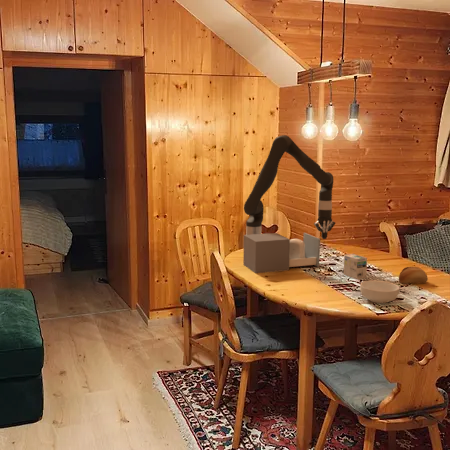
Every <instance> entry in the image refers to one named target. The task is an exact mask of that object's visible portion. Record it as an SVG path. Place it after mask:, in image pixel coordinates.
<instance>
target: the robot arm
mask: <svg viewBox="0 0 450 450" xmlns="http://www.w3.org/2000/svg"><path fill="white" fill-rule="evenodd" d="M285 153H287V154H289V155H290V156H291V157H292V158H294V160H295V161H296V162H297V163H298V165H299V166H301V168H302V169H303V170H304V171H306V172H307V173H308V174H309V175H311V176H312V177H313V179H314V180H315V181H316V182H317V183H319V184H320V190H319V192H318V206H317V209H318V211H317V217H318V218H317V221H316V222H314V223H313V225H314V226H315V228H316V229H317V231H318V232H321V235H320V236H321V238H322V239H323V240H327V238H328V232H331V230H332V229H333V227H334V226H335V224H336V222H335V221H334V220H333V218H332V215H333V203H332V202H333V201H332V200H333V187H334V176H333V174H332V173H331V172H329V171H325V170H324V169H323V168H321V166H320V165H319V164H318V162H316V161H315V160H313V159H312V158H311V157H310V156H308V154H307V153H305V152H304V151H303V150H302V149H301V148H300V147H299V146H298V145H297V144H296V143H295V141H294V140H293V139H292V137H290V136H289V135H286V134H283V135H280V136H277V137H275V138H274V140H273V141H272V145H271V147H270V150H269V154H268V156H267V158H266V159H265V162H264V164H263V166H262V168H261V170H260V172H259V174H258V177H257V178H256V181H255V183H254V186H253V188H252V190H251V192H250V194H249V196H248V197H247V199H246V201H245V202H244V205H243V211H244V213H245V214H246V215H247V216H249V217H248V219H246V223H245V224H246V225H245V235H252V234H262V228H263V227H262V223H263V221H264V210H265V209H264V204H263V201H262V200H261V199H262V198H263V196H264V195H265V194H266V193H267V191H268V190H269V189H270V188H271V187H272V186H273V183H274V181H275V180H276V177H277V175H278V171H279V163H280V161H281V160H282V157H283V155H284V154H285Z"/></svg>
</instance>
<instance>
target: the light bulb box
mask: <svg viewBox="0 0 450 450" xmlns="http://www.w3.org/2000/svg"><path fill="white" fill-rule="evenodd" d="M343 256H344V257H343V275H345V276H347V277H350V278H353V279H355V280H360V279H367V272H368V271H367V270H368V269H367V268H368V267H367V266H368V257H366V256H363V255H359V254H355V253H347V254H344V255H343Z"/></svg>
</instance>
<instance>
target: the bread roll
mask: <svg viewBox="0 0 450 450" xmlns="http://www.w3.org/2000/svg"><path fill="white" fill-rule="evenodd" d="M398 281H399V283H401V284H426V283H427V282H428V275H427V273H426V271H424V269H422V268H420V267H418V266H406V267H404V268H402V270H401V271H400V273H399V275H398Z"/></svg>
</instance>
